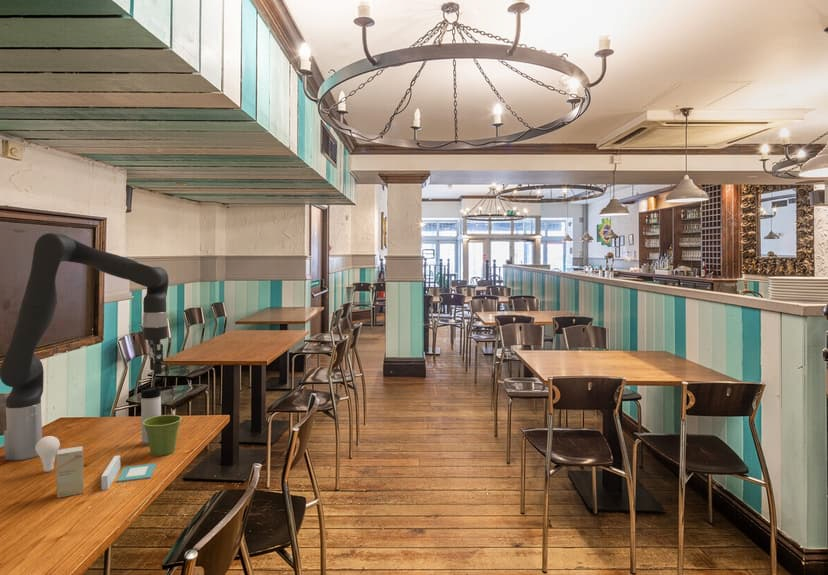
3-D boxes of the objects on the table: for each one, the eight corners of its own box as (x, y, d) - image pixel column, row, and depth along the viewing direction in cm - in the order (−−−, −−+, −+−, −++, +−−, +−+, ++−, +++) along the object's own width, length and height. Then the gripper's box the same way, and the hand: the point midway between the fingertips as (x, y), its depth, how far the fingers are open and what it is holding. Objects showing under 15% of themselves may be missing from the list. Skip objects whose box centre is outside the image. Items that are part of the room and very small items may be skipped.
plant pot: (138, 460, 164) (137, 426, 164) (148, 448, 176) (148, 415, 175) (178, 457, 167) (177, 423, 166) (185, 445, 179) (184, 413, 178)
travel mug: (157, 445, 178) (155, 389, 177) (138, 445, 178) (137, 389, 177) (166, 439, 184) (164, 385, 183) (148, 439, 184) (146, 385, 183)
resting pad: (116, 482, 148) (116, 480, 148) (124, 468, 158) (124, 466, 158) (150, 478, 151) (150, 476, 151) (156, 464, 161) (156, 462, 161)
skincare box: (56, 498, 138) (55, 454, 137) (57, 492, 141) (55, 449, 141) (84, 492, 141) (83, 450, 141) (84, 487, 145) (82, 445, 144)
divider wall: (101, 490, 143) (101, 476, 143) (115, 468, 158) (114, 456, 158) (107, 489, 143) (107, 475, 143) (120, 467, 158) (120, 455, 158)
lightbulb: (65, 469, 158) (64, 434, 157) (45, 477, 152) (44, 440, 151) (51, 466, 160) (50, 432, 159) (31, 474, 154) (30, 438, 153)
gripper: (139, 323, 178) (140, 369, 178) (146, 328, 166) (146, 377, 167) (163, 322, 182) (164, 367, 183) (171, 326, 170) (171, 374, 171)
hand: (155, 371), depth 175 cm, fingers open, 8 cm apart
